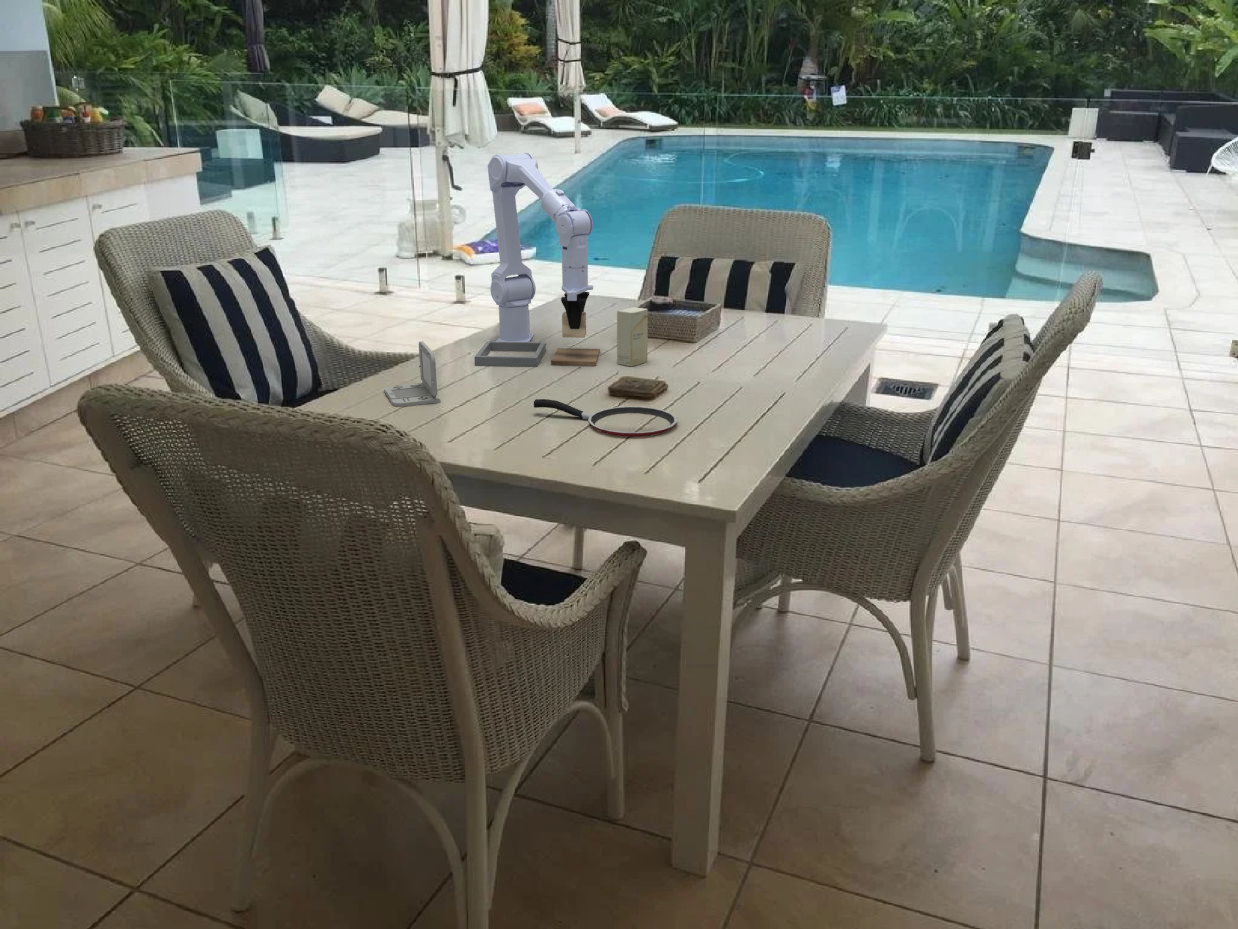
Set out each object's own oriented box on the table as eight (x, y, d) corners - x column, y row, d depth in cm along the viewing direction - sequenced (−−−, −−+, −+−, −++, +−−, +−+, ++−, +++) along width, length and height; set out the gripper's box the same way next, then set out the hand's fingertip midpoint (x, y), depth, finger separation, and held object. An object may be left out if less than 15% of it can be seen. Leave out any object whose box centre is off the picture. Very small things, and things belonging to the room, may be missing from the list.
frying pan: (516, 428, 194) (516, 411, 193) (550, 404, 209) (549, 387, 208) (662, 444, 186) (662, 425, 185) (686, 417, 201) (687, 400, 200)
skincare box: (631, 367, 235) (632, 313, 231) (615, 364, 237) (616, 310, 233) (648, 361, 240) (648, 308, 235) (632, 358, 242) (632, 306, 238)
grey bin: (487, 349, 250) (486, 341, 249) (545, 350, 249) (545, 342, 248) (474, 365, 236) (474, 356, 235) (536, 366, 235) (536, 357, 234)
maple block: (564, 333, 242) (564, 311, 240) (586, 333, 241) (585, 311, 240) (562, 337, 238) (561, 315, 236) (584, 337, 238) (584, 315, 236)
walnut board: (557, 352, 248) (557, 348, 247) (600, 353, 247) (600, 348, 247) (551, 365, 236) (551, 360, 236) (595, 366, 236) (595, 361, 235)
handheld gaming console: (383, 390, 217) (379, 343, 214) (427, 386, 220) (424, 339, 217) (394, 408, 206) (390, 358, 202) (440, 403, 209) (437, 354, 205)
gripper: (589, 271, 227) (590, 333, 232) (595, 261, 241) (596, 319, 246) (557, 271, 228) (558, 333, 232) (565, 260, 241) (566, 319, 246)
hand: (575, 326), depth 239 cm, fingers closed on maple block, 4 cm apart
